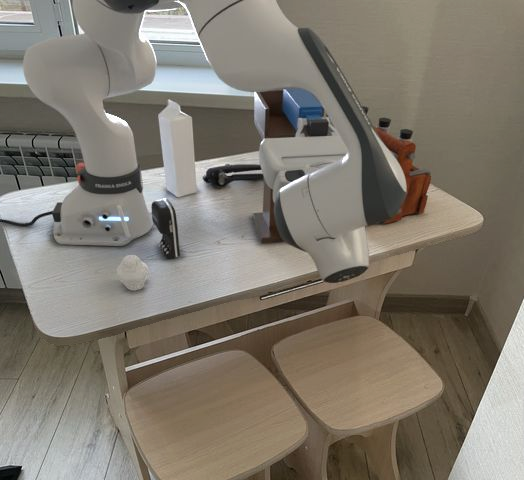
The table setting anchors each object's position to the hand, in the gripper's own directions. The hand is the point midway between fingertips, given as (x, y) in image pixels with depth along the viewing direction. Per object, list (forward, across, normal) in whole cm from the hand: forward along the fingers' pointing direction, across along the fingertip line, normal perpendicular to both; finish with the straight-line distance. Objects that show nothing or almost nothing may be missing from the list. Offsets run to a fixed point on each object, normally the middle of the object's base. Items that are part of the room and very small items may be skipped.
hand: (312, 120), depth 85 cm
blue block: (+3, 0, +5) cm, 5 cm away
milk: (+21, +22, +47) cm, 56 cm away
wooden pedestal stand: (0, 0, +36) cm, 36 cm away
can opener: (+23, +7, +49) cm, 55 cm away
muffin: (-16, +34, +26) cm, 46 cm away
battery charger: (-5, +27, +32) cm, 43 cm away
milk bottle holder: (+13, -24, +43) cm, 51 cm away
